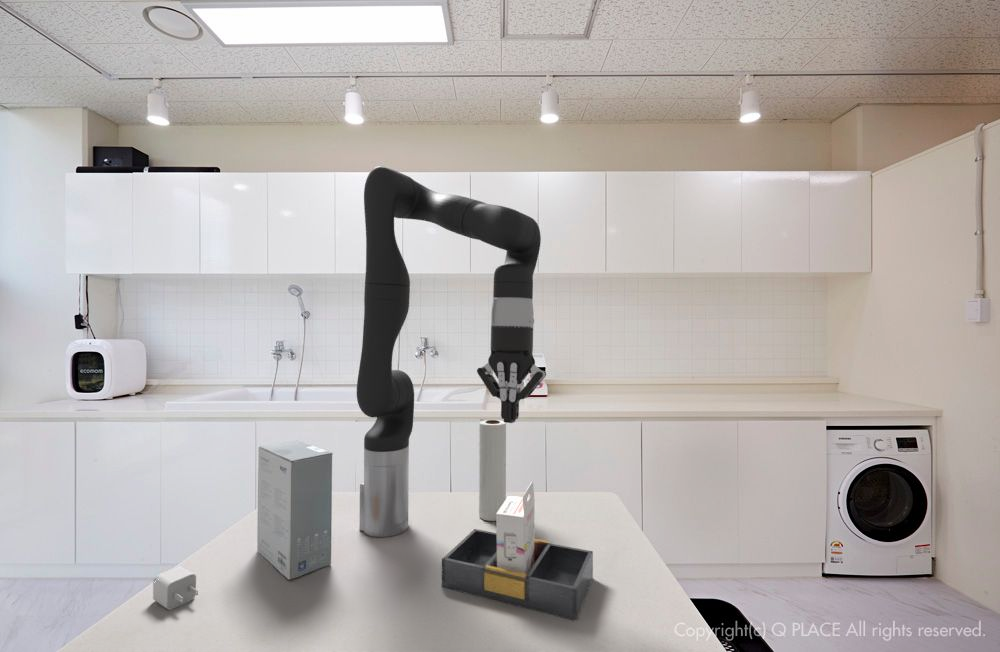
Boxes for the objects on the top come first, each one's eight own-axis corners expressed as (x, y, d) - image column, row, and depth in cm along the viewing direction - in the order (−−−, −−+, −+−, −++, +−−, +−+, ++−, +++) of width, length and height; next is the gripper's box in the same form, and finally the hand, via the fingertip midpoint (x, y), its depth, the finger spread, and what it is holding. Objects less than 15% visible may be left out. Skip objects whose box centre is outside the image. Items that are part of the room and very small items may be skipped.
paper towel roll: (505, 522, 99) (506, 424, 99) (478, 521, 99) (478, 424, 99) (505, 509, 106) (506, 417, 106) (479, 509, 106) (480, 417, 106)
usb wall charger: (182, 589, 72) (182, 564, 72) (204, 603, 69) (204, 577, 69) (153, 602, 69) (153, 576, 69) (174, 617, 65) (175, 589, 65)
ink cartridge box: (507, 561, 80) (507, 477, 80) (535, 564, 79) (535, 480, 79) (494, 587, 71) (495, 494, 72) (525, 592, 70) (525, 497, 70)
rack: (440, 588, 73) (440, 558, 73) (474, 553, 85) (474, 527, 85) (575, 622, 64) (575, 588, 65) (592, 578, 76) (592, 549, 76)
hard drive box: (333, 565, 80) (334, 452, 80) (288, 582, 75) (290, 461, 75) (296, 537, 91) (297, 438, 91) (255, 551, 85) (256, 445, 85)
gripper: (469, 323, 79) (466, 421, 79) (540, 324, 74) (538, 430, 74) (487, 324, 86) (485, 414, 86) (554, 325, 81) (551, 422, 81)
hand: (509, 421), depth 80 cm, fingers closed
